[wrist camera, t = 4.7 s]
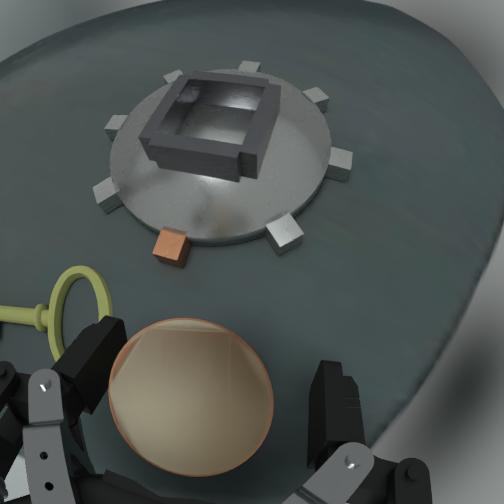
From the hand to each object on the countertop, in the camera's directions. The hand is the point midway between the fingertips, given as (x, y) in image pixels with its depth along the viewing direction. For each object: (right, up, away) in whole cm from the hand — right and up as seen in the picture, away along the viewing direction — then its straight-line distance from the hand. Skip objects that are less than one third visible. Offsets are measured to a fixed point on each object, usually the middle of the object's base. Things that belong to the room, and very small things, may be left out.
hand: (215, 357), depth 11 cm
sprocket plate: (-1, +12, +10) cm, 16 cm away
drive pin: (0, -3, +5) cm, 5 cm away
